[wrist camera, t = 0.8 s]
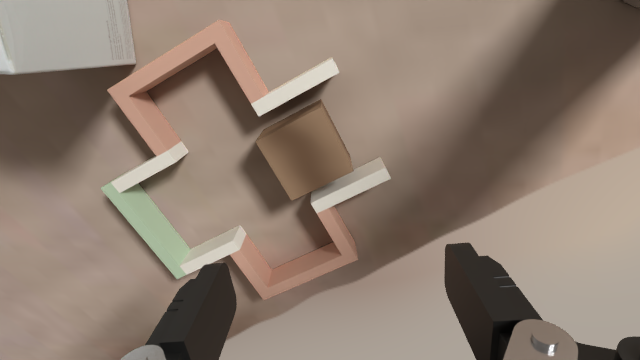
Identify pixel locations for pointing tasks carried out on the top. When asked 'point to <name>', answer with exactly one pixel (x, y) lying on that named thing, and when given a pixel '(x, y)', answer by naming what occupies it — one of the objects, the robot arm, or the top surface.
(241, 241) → the corral
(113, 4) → the supplement box
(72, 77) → the top surface
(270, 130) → the walnut block
